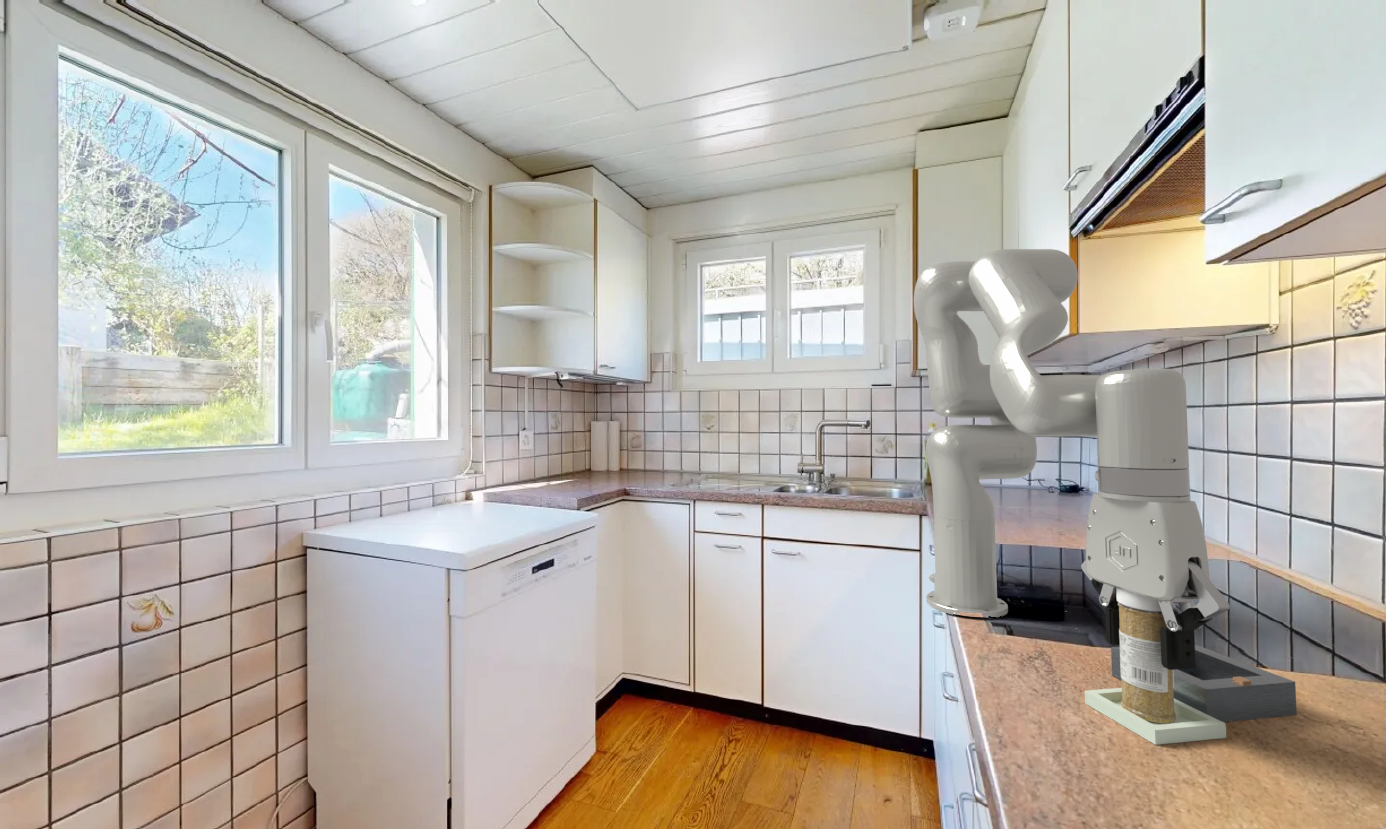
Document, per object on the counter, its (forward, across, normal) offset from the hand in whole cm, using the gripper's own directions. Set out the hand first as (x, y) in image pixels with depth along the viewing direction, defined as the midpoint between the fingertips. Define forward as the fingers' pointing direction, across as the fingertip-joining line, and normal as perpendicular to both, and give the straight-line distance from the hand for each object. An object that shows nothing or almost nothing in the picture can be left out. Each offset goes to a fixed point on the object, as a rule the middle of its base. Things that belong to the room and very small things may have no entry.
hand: (1148, 653), depth 57 cm
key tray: (+7, 0, 0) cm, 7 cm away
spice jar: (+7, 0, 0) cm, 7 cm away
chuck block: (+7, -4, +10) cm, 13 cm away
